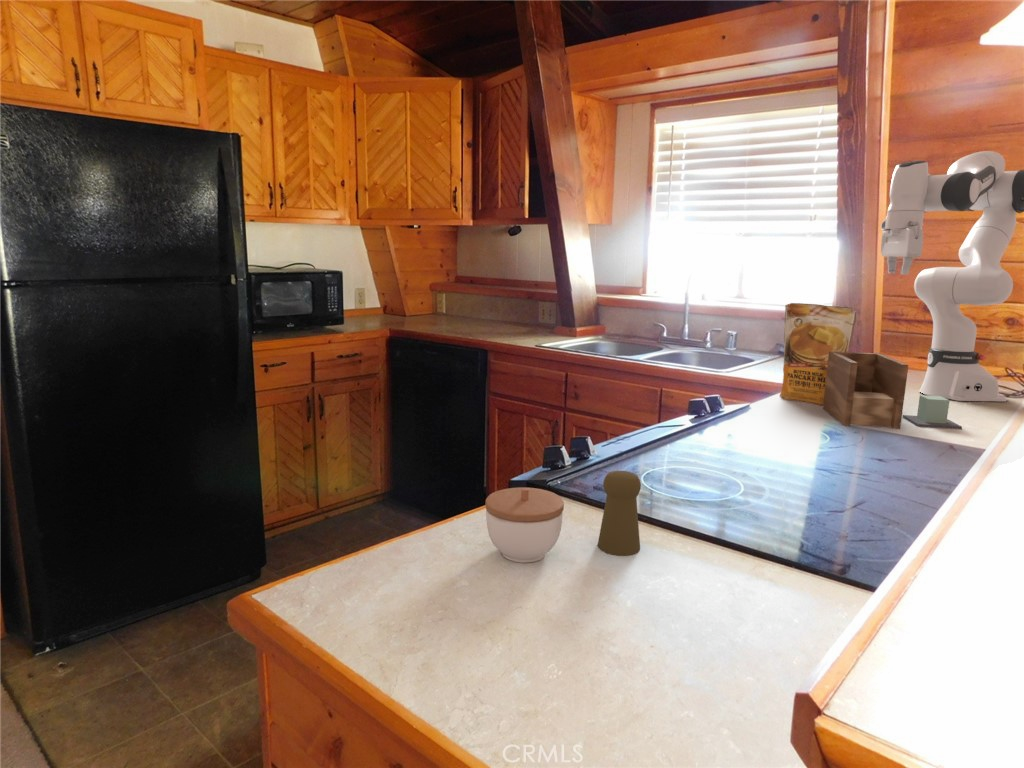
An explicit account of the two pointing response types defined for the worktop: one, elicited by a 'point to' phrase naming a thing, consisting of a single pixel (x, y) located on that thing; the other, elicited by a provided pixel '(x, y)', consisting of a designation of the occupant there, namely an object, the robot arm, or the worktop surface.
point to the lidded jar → (524, 522)
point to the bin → (865, 389)
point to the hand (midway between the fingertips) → (897, 273)
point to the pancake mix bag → (812, 347)
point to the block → (933, 409)
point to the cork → (620, 514)
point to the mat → (925, 424)
